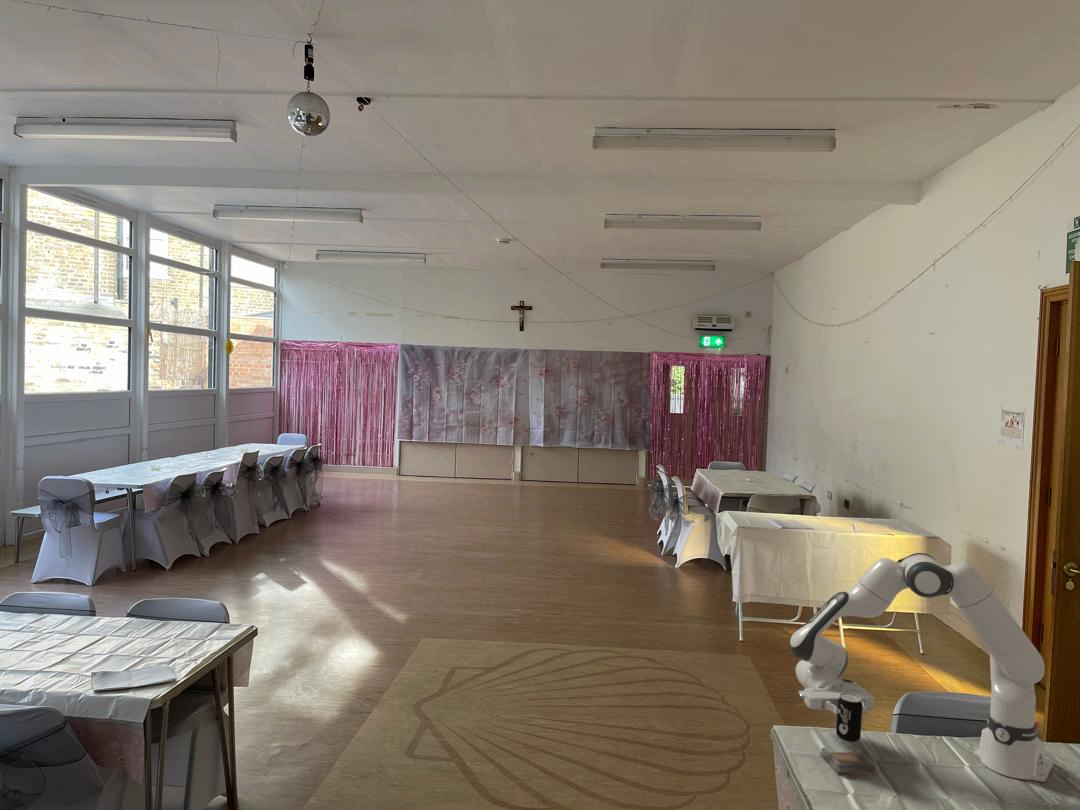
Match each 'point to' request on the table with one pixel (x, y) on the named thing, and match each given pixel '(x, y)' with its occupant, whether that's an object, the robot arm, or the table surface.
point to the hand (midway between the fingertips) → (851, 711)
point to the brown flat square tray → (849, 762)
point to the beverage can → (849, 717)
